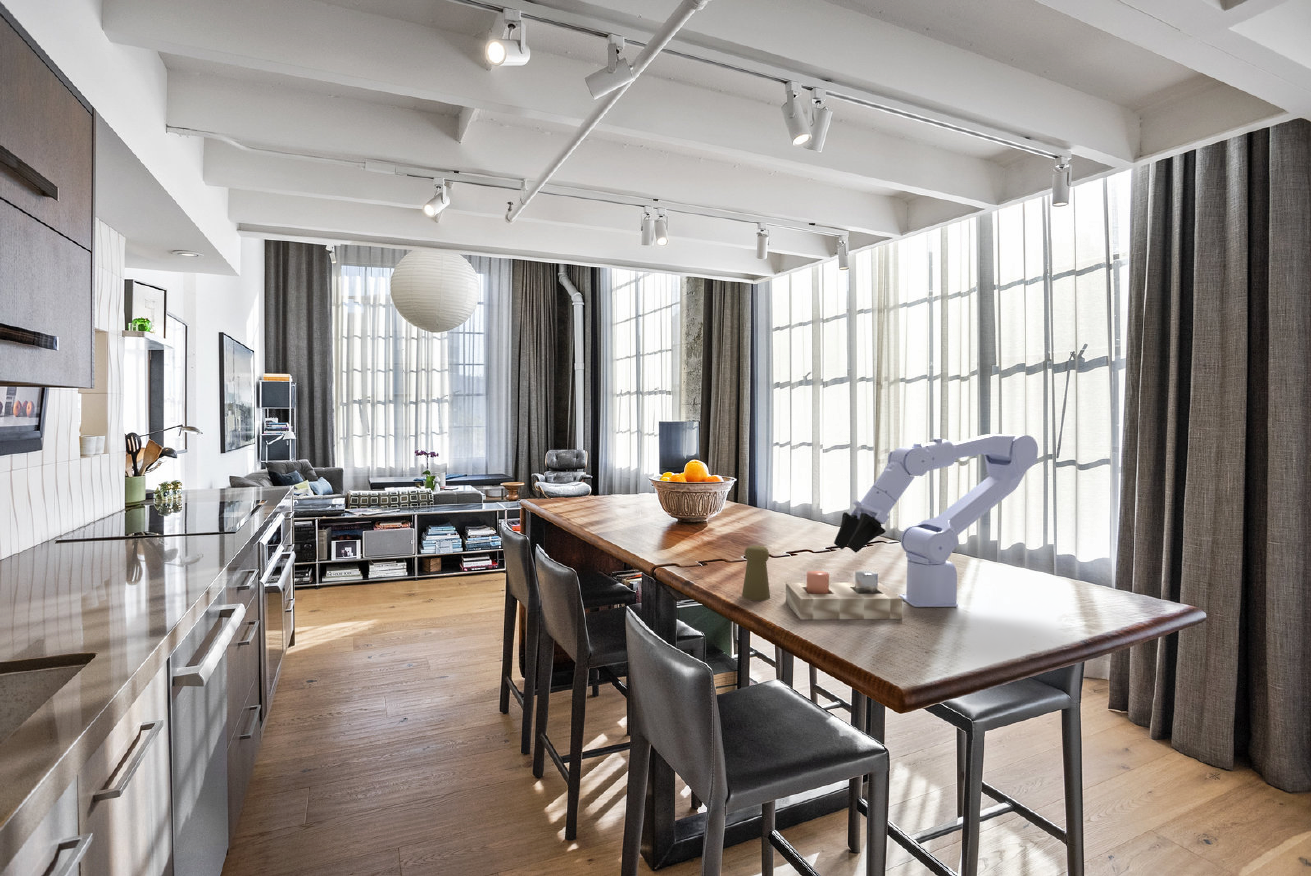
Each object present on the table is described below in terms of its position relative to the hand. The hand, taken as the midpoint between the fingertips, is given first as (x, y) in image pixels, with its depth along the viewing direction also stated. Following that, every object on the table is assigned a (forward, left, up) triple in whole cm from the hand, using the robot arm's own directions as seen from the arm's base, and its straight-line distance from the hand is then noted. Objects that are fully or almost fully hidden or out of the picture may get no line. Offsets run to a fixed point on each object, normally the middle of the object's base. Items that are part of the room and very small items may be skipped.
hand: (844, 547), depth 137 cm
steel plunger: (-4, +1, -9) cm, 10 cm away
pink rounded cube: (+6, +1, -9) cm, 11 cm away
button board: (+1, +1, -12) cm, 13 cm away
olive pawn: (+16, -9, -13) cm, 22 cm away
